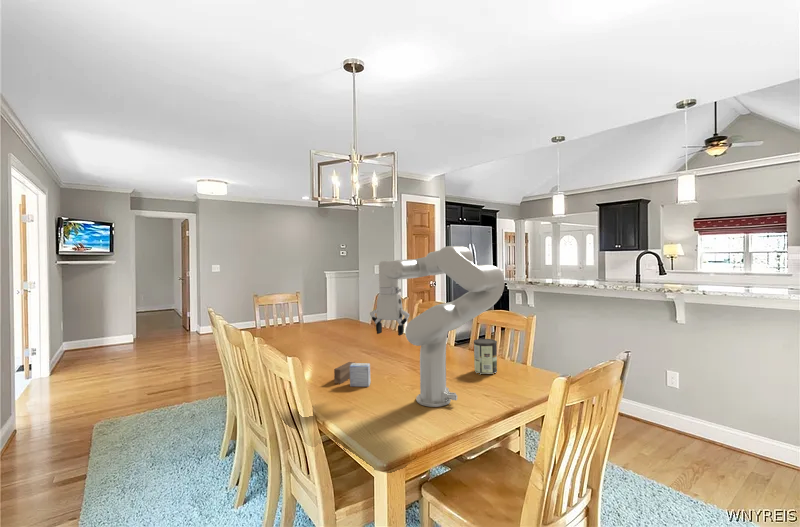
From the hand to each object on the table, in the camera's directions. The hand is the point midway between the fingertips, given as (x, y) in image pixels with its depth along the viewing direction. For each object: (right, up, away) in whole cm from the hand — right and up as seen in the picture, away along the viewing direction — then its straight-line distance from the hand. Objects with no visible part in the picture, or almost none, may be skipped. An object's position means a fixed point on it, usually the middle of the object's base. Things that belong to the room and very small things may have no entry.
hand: (389, 334), depth 157 cm
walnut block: (-20, -22, +14) cm, 33 cm away
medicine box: (-12, -23, +6) cm, 27 cm away
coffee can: (+43, -21, +21) cm, 52 cm away
